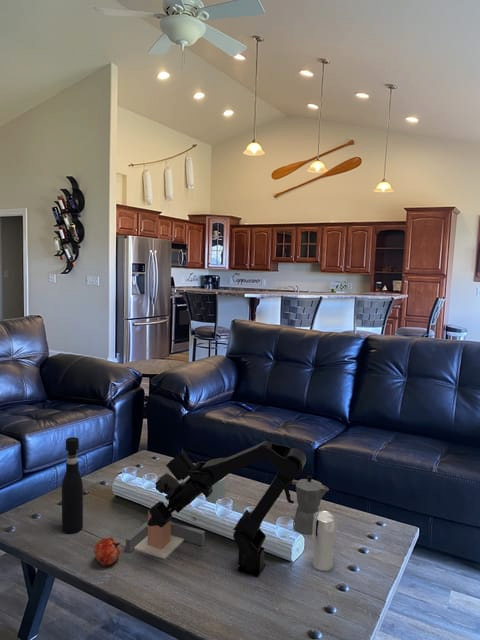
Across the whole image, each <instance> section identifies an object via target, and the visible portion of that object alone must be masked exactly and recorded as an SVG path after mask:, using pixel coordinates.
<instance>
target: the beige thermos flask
mask: <svg viewBox="0 0 480 640" xmlns="http://www.w3.org/2000/svg"><path fill="white" fill-rule="evenodd" d="M337 523H338V522H337V516H336V514H334V513H333V512H330V511H327V510H320V511H319V510H318V512H316V513H315V514H314V518H313V526H312V534H311V536H312V545H313V557H312V560H311V565H312V567H313V568H314V569H316V570H317V571H320V572H328V571H331V570H332V569H333V567H334V564H333V563H334V562H333V551H334V548H335V547H334V546H335V543H336V538H337Z"/></svg>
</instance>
